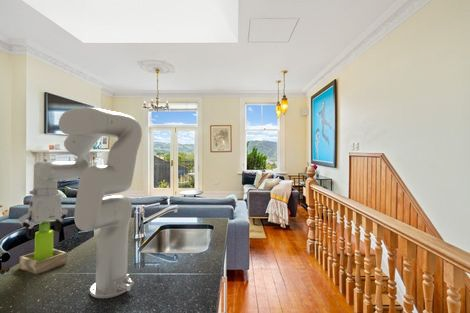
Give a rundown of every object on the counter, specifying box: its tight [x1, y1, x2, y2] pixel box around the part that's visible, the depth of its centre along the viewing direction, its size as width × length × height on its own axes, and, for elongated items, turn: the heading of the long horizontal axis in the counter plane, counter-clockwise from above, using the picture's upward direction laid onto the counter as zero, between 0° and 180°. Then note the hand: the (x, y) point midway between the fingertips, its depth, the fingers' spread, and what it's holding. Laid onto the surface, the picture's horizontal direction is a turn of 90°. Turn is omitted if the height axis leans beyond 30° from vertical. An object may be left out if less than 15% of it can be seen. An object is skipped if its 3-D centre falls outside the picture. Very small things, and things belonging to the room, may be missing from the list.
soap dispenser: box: [33, 216, 55, 261], centre depth 96 cm, size 6×7×20 cm
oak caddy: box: [18, 248, 68, 275], centre depth 96 cm, size 12×11×4 cm
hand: (44, 234), depth 95 cm, fingers open, 9 cm apart
